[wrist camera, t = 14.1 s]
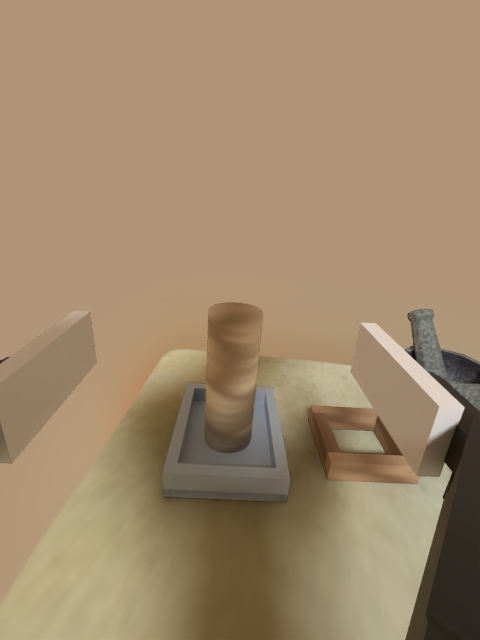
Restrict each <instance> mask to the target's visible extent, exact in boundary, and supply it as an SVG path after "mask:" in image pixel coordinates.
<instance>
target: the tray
mask: <svg viewBox="0 0 480 640" xmlns="http://www.w3.org/2000/svg"><path fill="white" fill-rule="evenodd" d="M205 400H206V384H205V383H188V382H187V384H186V388H185V391H184V395H183V398H182V402H181V406H180V409H179V413H178V417H177V420H176V424H175V427H174V431H173V435H172V438H171V442H170V445H169V449H168V453H167V456H166V460H165V463H164V467H163V471H162V497H182V498H204V499H226V500H248V501H270V502H287V498H288V492H289V486H290V480H291V478H290V473H289V468H288V462H287V457H286V452H285V446H284V441H283V436H282V430H281V425H280V420H279V415H278V409H277V404H276V399H275V393H274V388H273V387H259V386H256V393H255V403H254V414H253V424H252V435H251V441H250V444H249V445H248V446H247V447H246V448H245V449H243V450H241V451H239V452H235V453H222V452H218V451H216V450H214V449H212V448H211V447H209V446H208V445H207V443H206V442H205V438H204V430H205Z"/></svg>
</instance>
